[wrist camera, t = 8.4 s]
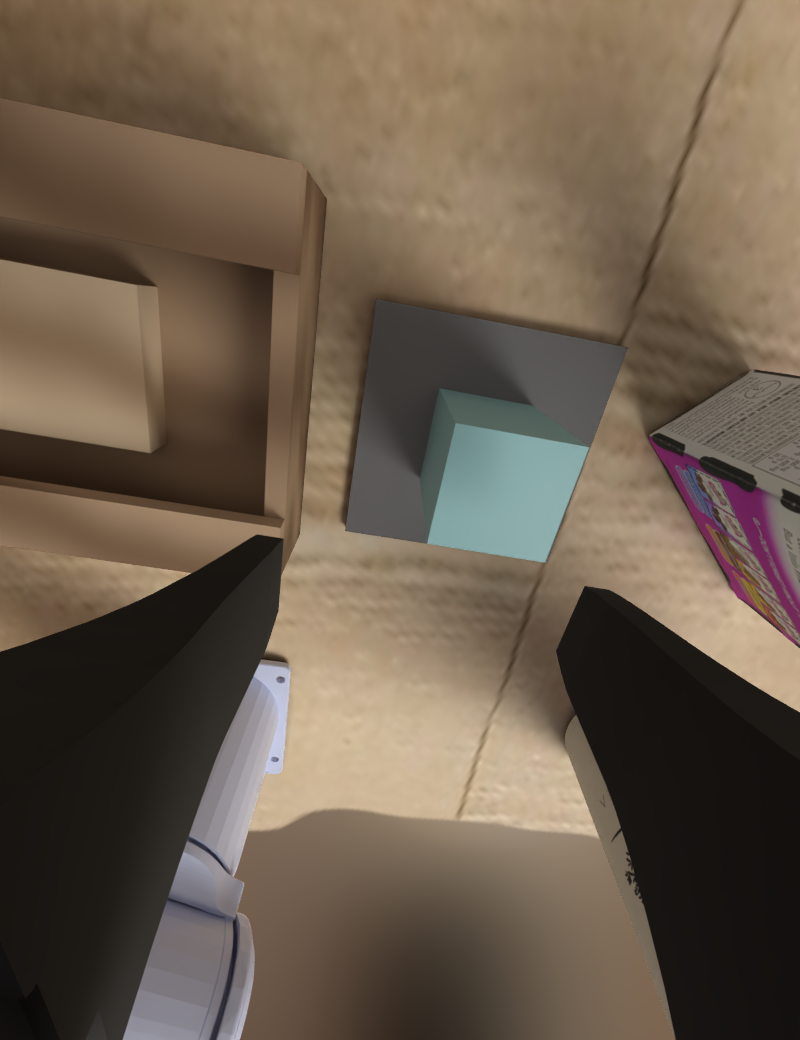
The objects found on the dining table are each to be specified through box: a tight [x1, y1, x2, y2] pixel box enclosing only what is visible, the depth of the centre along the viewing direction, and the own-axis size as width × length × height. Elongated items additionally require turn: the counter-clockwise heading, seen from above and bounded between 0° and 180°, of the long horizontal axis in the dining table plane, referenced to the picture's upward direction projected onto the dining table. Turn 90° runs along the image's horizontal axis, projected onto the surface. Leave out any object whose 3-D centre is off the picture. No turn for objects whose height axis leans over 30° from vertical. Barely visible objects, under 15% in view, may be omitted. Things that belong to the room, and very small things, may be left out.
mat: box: [345, 299, 628, 562], centre depth 19 cm, size 10×10×1 cm
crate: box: [0, 98, 327, 575], centre depth 16 cm, size 14×20×4 cm
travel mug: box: [565, 715, 676, 1040], centre depth 19 cm, size 8×8×18 cm
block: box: [420, 388, 589, 563], centre depth 16 cm, size 4×4×6 cm
